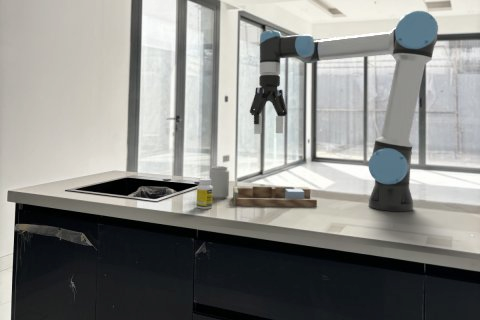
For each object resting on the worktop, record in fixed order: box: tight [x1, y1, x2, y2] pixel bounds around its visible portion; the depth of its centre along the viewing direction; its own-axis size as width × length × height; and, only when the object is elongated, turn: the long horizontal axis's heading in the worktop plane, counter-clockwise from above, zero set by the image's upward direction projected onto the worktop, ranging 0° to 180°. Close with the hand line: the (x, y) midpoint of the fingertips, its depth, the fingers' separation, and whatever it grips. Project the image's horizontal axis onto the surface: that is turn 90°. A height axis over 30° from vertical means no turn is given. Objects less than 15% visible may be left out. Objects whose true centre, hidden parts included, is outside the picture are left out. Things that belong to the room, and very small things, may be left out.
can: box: [209, 165, 230, 200], centre depth 162 cm, size 8×8×12 cm
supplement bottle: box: [196, 177, 214, 210], centre depth 143 cm, size 5×5×10 cm
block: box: [285, 189, 304, 199], centre depth 155 cm, size 6×6×5 cm
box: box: [232, 185, 318, 208], centre depth 156 cm, size 29×16×4 cm, turn 93°
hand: (268, 133), depth 155 cm, fingers open, 13 cm apart
